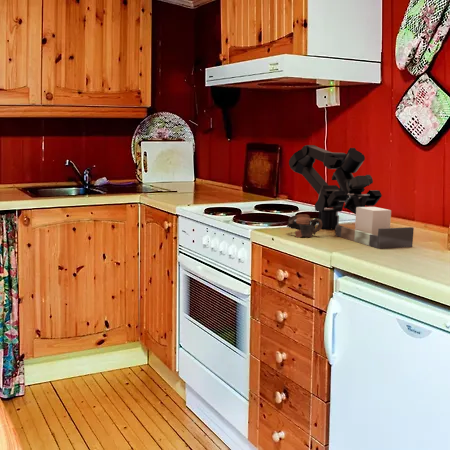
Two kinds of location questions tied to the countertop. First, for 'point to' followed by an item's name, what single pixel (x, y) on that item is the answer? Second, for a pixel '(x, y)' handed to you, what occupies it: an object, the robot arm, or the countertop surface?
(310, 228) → the pottery mug
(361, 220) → the block
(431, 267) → the countertop surface
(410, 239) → the box
